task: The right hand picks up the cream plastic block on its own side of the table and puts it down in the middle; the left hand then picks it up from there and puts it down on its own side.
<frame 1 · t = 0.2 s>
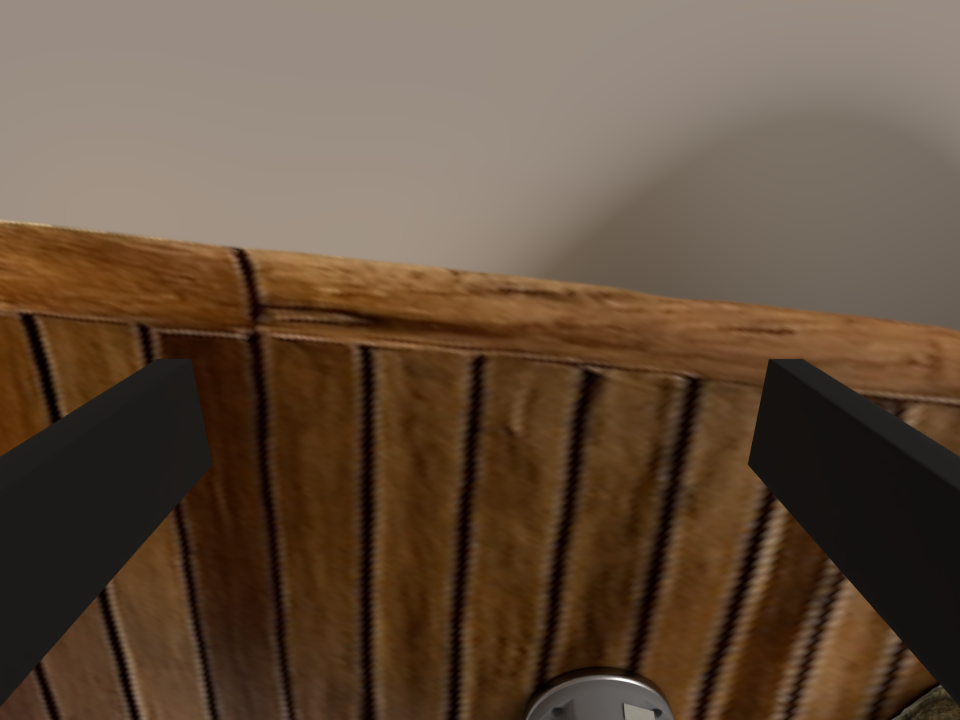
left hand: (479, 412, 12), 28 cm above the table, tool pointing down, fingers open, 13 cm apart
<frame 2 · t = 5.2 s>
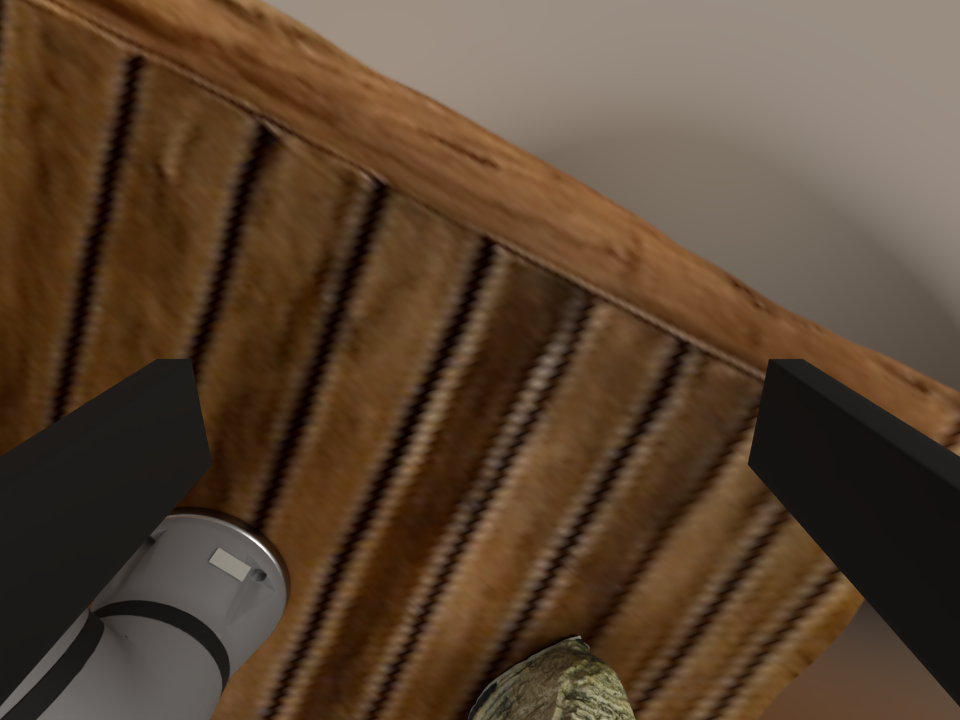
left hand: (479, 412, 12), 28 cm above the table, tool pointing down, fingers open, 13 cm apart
fossil: (537, 681, 54), on the table
when the right hand's fingers open (1 cm above the table, at t = 11.1 s): block stays where it is, on the table.
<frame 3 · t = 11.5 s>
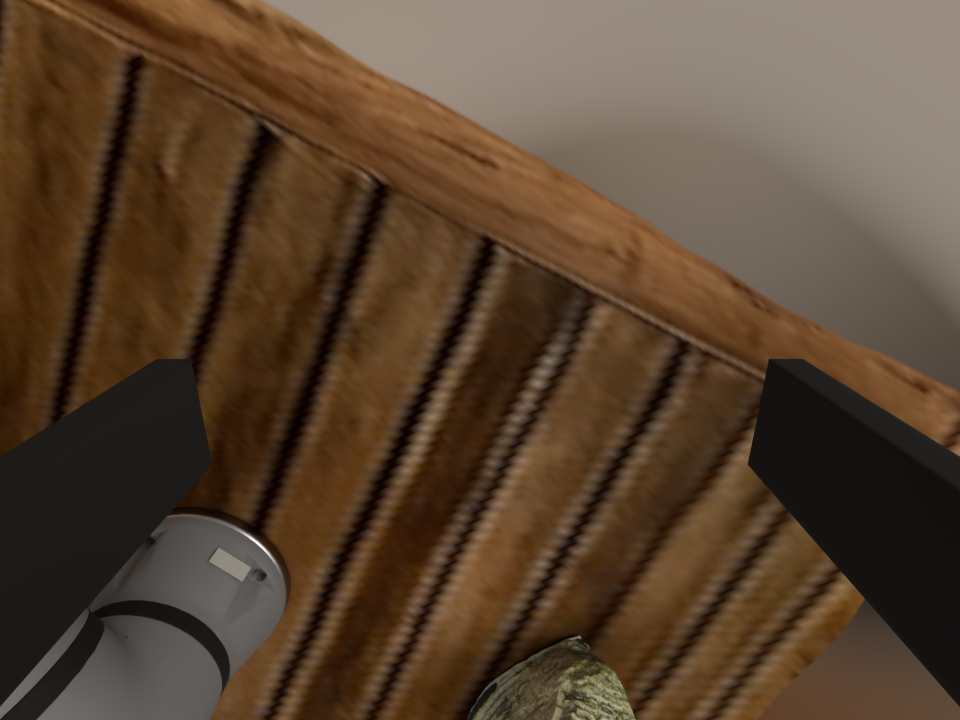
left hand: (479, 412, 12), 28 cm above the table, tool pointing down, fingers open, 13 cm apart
fossil: (537, 681, 54), on the table
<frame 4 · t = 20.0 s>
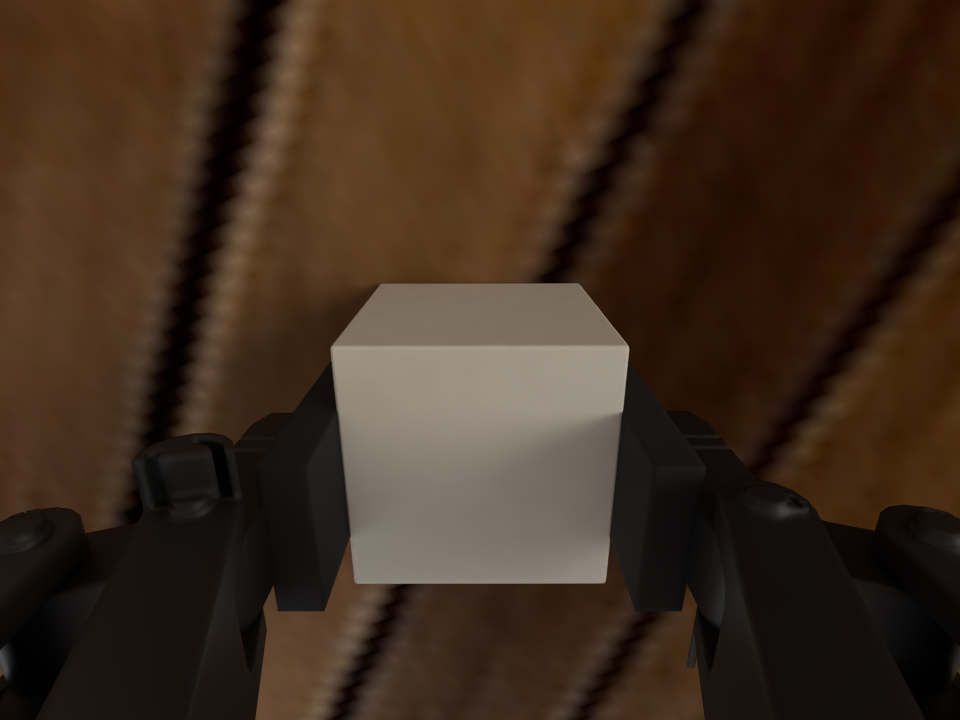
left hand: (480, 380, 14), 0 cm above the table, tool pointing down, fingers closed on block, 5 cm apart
block: (479, 375, 15), on the table, touching left hand
when the left hand's fingers open (1 cm above the table, at t = 23.3 s): block stays where it is, on the table.
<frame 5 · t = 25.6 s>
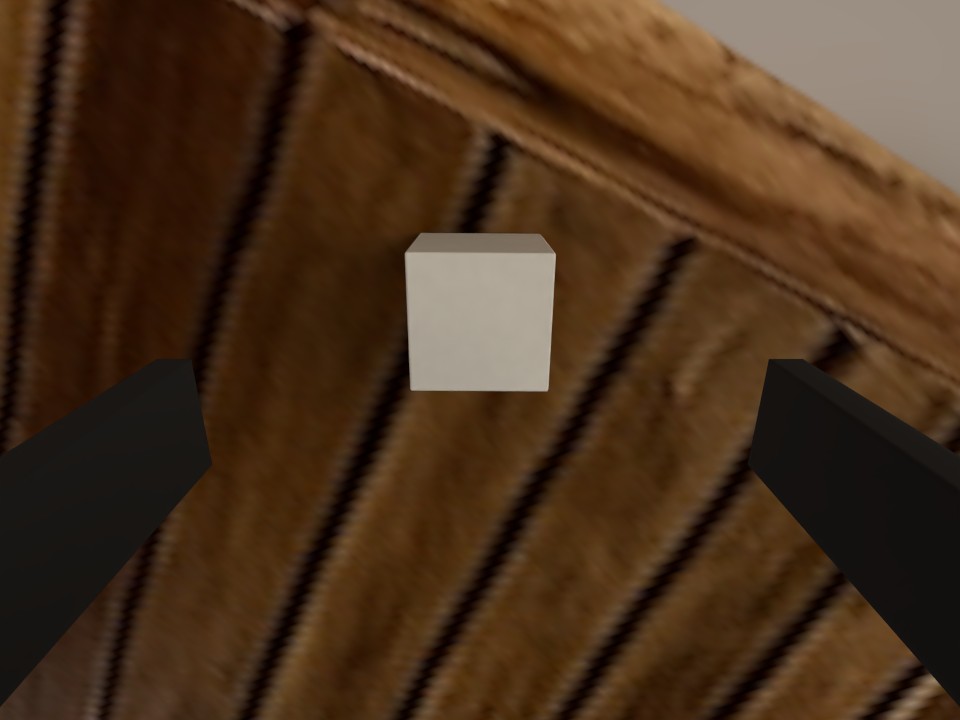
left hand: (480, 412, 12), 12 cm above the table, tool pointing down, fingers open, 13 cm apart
block: (479, 292, 24), on the table
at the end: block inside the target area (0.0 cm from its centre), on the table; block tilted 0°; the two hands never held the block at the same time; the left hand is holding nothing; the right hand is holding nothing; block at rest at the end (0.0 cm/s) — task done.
